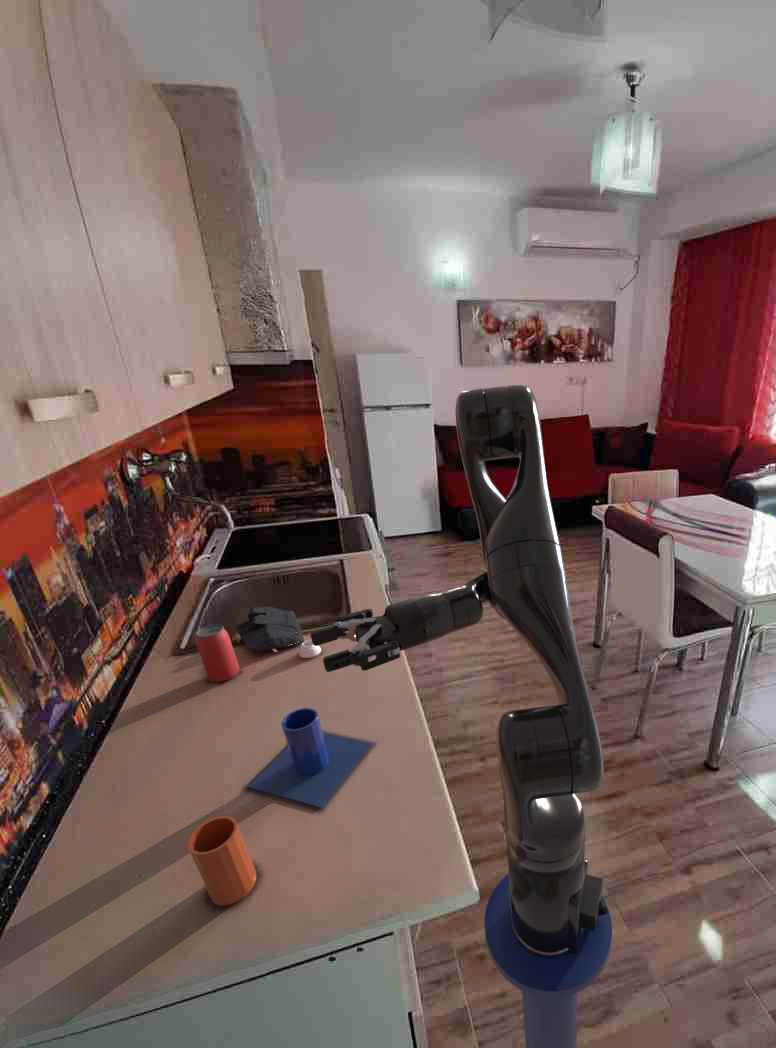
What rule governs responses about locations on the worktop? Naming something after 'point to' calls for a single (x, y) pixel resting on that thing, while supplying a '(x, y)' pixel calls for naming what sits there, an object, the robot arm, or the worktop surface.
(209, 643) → the beer can
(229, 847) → the terracotta cup
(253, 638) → the dark slate chunk
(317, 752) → the blue cup
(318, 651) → the lidless jar
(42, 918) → the worktop surface
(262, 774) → the blue mat
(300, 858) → the worktop surface
